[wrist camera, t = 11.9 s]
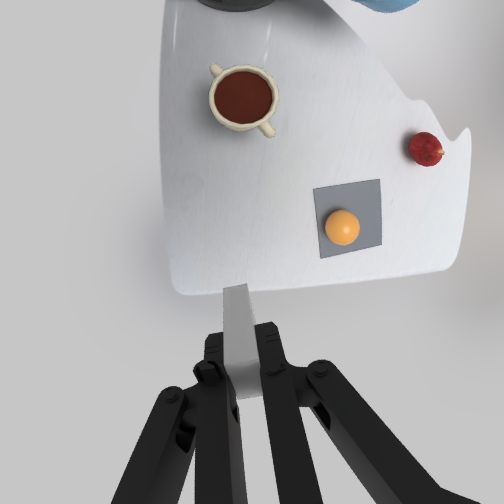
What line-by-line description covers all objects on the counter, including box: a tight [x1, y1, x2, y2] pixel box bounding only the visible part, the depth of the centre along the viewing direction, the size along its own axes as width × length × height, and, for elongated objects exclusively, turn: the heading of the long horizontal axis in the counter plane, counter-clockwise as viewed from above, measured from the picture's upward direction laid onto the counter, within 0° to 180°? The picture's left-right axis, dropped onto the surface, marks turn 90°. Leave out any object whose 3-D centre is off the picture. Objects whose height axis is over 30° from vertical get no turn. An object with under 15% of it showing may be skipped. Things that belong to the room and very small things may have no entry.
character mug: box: [209, 63, 279, 138], centre depth 30 cm, size 11×7×13 cm, turn 39°
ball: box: [325, 210, 360, 245], centre depth 42 cm, size 6×6×6 cm
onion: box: [409, 132, 444, 167], centre depth 36 cm, size 6×6×8 cm
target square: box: [313, 179, 382, 259], centre depth 44 cm, size 12×12×1 cm
